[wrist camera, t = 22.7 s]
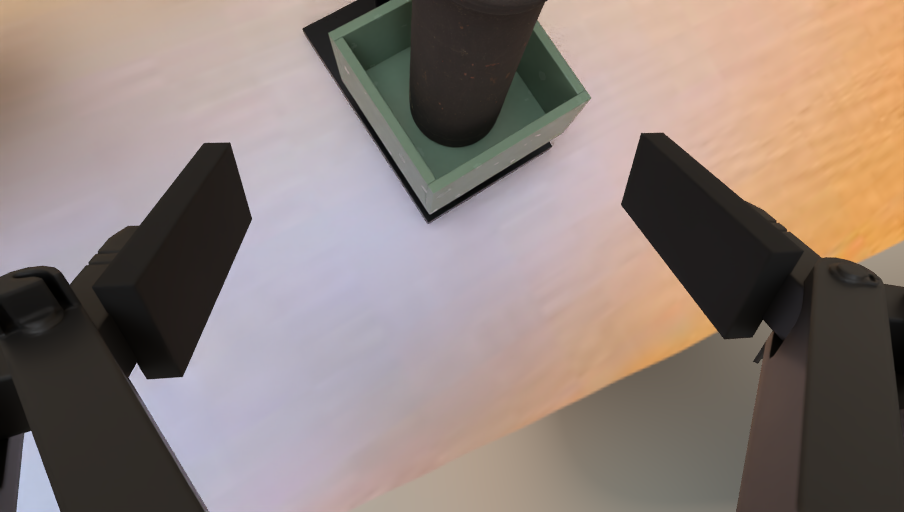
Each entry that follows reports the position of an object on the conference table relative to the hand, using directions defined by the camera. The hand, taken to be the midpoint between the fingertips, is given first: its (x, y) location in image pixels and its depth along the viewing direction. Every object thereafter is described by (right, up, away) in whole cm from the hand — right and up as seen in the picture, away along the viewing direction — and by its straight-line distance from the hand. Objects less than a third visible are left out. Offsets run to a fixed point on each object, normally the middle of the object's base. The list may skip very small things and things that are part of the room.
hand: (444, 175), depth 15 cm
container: (+1, +11, +26) cm, 28 cm away
